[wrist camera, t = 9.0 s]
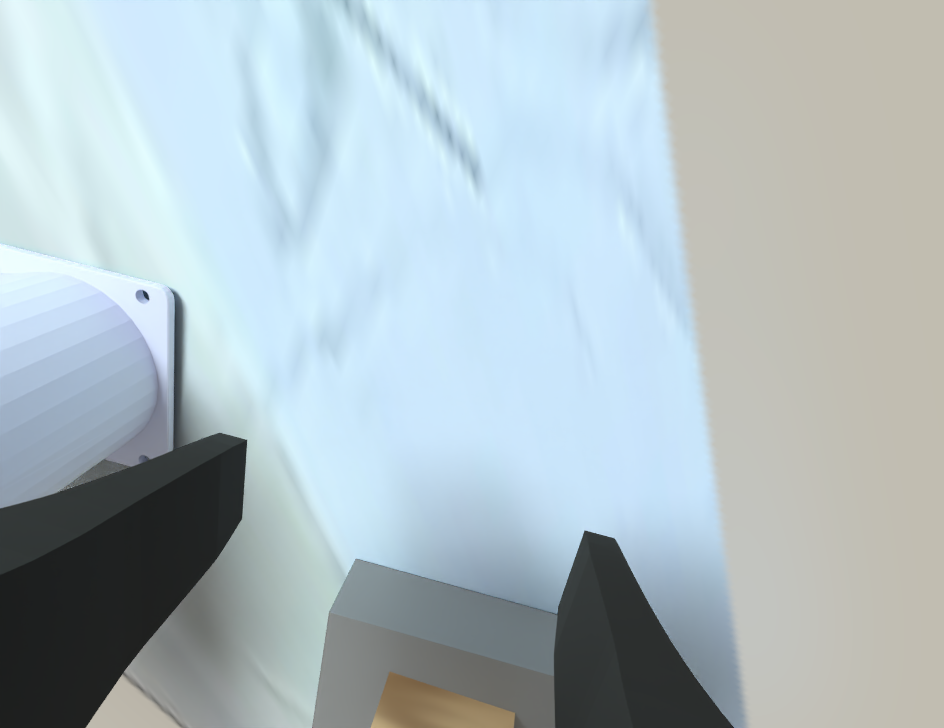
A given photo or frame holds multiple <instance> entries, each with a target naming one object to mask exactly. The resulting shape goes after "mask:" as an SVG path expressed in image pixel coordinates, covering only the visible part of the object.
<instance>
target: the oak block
mask: <svg viewBox="0 0 944 728" xmlns="http://www.w3.org/2000/svg"><path fill="white" fill-rule="evenodd" d="M514 719H515V713H514V712H511V711H508V710H505V709H501V708H498V707H495V706H492V705H489V704H486V703H483V702H480V701H477V700H474V699H471V698H468V697H465V696H462V695H459V694H456V693H453V692H450V691H447V690H444V689H441V688H438V687H435V686H432V685H429V684H426V683H423V682H420V681H417V680H414V679H411V678H408V677H405V676H402V675H399V674H396V673H393V672H389V675H388V678H387V681H386V684H385V687H384V690H383V693H382V696H381V699H380V702H379V704H378V707H377V710H376V713H375V716H374V719H373V722H372V725H371V728H514Z"/></svg>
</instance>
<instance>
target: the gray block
mask: <svg viewBox="0 0 944 728" xmlns="http://www.w3.org/2000/svg"><path fill="white" fill-rule="evenodd" d="M557 616H558V615H556V614H553V613H549V612H545V611H542V610H538V609H535V608H531V607H527V606H524V605H520V604H517V603H513V602H509V601H506V600H502V599H499V598H495V597H491V596H488V595H484V594H481V593H477V592H473V591H470V590H466V589H463V588H459V587H455V586H452V585H448V584H445V583H441V582H437V581H434V580H430V579H427V578H423V577H419V576H416V575H412V574H409V573H405V572H401V571H398V570H394V569H391V568H387V567H383V566H380V565H376V564H373V563H369V562H366V561H362V560H358V559H355V561H354V563H353V565H352V567H351V569H350V571H349V573H348V575H347V577H346V579H345V581H344V583H343V585H342V587H341V589H340V591H339V593H338V595H337V597H336V599H335V601H334V603H333V605H332V607H331V609H330V611H329V616H328V623H327V630H326V637H325V644H324V650H323V657H322V664H321V671H320V678H319V685H318V691H317V698H316V705H315V712H314V719H313V725H312V728H371V725H372V722H373V719H374V716H375V713H376V710H377V707H378V704H379V702H380V699H381V696H382V693H383V690H384V687H385V684H386V681H387V678H388V675H389V672H393V673H396V674H399V675H402V676H405V677H408V678H411V679H414V680H417V681H420V682H423V683H426V684H429V685H432V686H435V687H438V688H441V689H444V690H447V691H450V692H453V693H456V694H459V695H462V696H465V697H468V698H471V699H474V700H477V701H480V702H483V703H486V704H489V705H492V706H495V707H498V708H501V709H505V710H508V711H511V712H514V713H515V719H514V728H555V700H554V646H555V635H556V625H557Z"/></svg>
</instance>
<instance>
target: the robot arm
mask: <svg viewBox="0 0 944 728" xmlns="http://www.w3.org/2000/svg"><path fill="white" fill-rule="evenodd" d="M143 290H144V291H146V292H147V293H148V295H149V300H147V299H146V298H145V297H144V295H143ZM174 316H175V300H174V295H173V293H172V292H171V290H170V289H169V288H168V287H167V286H164V285H162V284H159V283H155V282H151V281H147V280H143V279H139V278H135V277H131V276H127V275H123V274H119V273H115V272H111V271H107V270H103V269H99V268H95V267H91V266H87V265H83V264H79V263H75V262H71V261H67V260H64V259H60V258H56V257H52V256H48V255H44V254H40V253H36V252H32V251H28V250H24V249H20V248H16V247H12V246H8V245H4V244H0V728H86V726H87V725H88V723H89V722H90V720H91V719H92V717H93V716H94V714H95V713H96V711H97V710H98V708H99V707H100V705H101V704H102V703H103V701H104V700H105V698H106V697H107V695H108V694H109V693H110V691H111V690H112V688H113V687H114V685H115V684H116V682H117V681H118V679H119V678H120V677H121V675H122V674H123V672H124V671H125V669H126V668H127V667H128V666H129V664H130V663H131V662H132V660H133V659H134V658H135V657H136V655H137V654H138V653H139V651H140V650H141V649H142V648H143V646H144V645H145V644H146V643H147V642H148V640H149V639H150V638H151V637H152V636H153V634H154V633H155V632H156V631H157V630H158V629H159V627H160V626H161V625H162V624H163V623H164V621H165V620H166V619H167V618H168V617H169V615H170V614H171V613H172V612H173V611H174V610H175V608H176V607H177V606H178V605H179V604H180V602H181V601H182V600H183V599H184V598H185V597H186V595H187V594H188V593H189V592H190V591H191V589H192V588H193V587H194V586H195V585H196V583H197V582H198V581H199V580H200V579H201V577H202V576H203V575H204V574H205V572H206V571H207V570H208V569H209V568H210V566H211V565H212V564H213V563H214V561H215V560H216V559H217V557H218V556H219V554H220V553H221V551H222V550H223V548H224V547H225V545H226V544H227V542H228V541H229V539H230V537H231V536H232V534H233V533H234V531H235V529H236V528H237V526H238V524H239V523H240V521H241V520H242V511H243V495H244V480H245V465H246V449H247V440H245V439H241V438H237V437H234V436H230V435H226V434H222V433H218V434H215V435H212V436H209V437H206V438H203V439H201V440H198V441H195V442H193V443H190V444H188V445H185V446H183V447H180V448H178V449H175V450H173V425H174ZM145 456H147V457H148V458H149V459H150V460H147V458H146V457H145ZM103 459H105V460H108V461H112V462H116V463H119V464H123V465H126V466H130V468H127V469H125V470H122V471H119V472H116V473H113V474H110V475H108V476H105V477H102V478H99V479H96V480H93V481H91V482H88V483H85V484H82V485H79V486H76V487H73V488H70V489H67V490H64V491H61V492H59V491H60V490H61V489H63V488H64V487H66V486H67V485H68V484H70V483H71V482H73V481H74V480H75V479H77V478H78V477H80V476H81V475H82V474H84V473H85V472H87V471H88V470H89V469H91V468H92V467H94V466H95V465H96V464H98V463H99V462H101V461H102V460H103ZM57 492H58V493H57ZM554 700H555V728H734V727H733V726H732V725H731V724H730V722H729V721H728V720H727V719H726V717H725V716H724V715H723V714H722V712H721V711H720V710H719V709H718V707H717V706H716V705H715V703H714V702H713V701H712V699H711V698H710V697H709V695H708V694H707V693H706V691H705V690H704V689H703V687H702V686H701V685H700V684H699V682H698V681H697V679H696V678H695V677H694V675H693V674H692V672H691V671H690V670H689V668H688V667H687V665H686V664H685V662H684V661H683V659H682V658H681V656H680V655H679V653H678V651H677V650H676V648H675V647H674V645H673V644H672V642H671V641H670V639H669V637H668V636H667V634H666V632H665V631H664V629H663V627H662V626H661V624H660V622H659V621H658V619H657V617H656V615H655V614H654V612H653V610H652V608H651V607H650V605H649V603H648V601H647V599H646V598H645V596H644V594H643V592H642V590H641V588H640V586H639V585H638V583H637V581H636V579H635V577H634V575H633V573H632V571H631V569H630V567H629V565H628V563H627V561H626V559H625V557H624V555H623V553H622V551H621V549H620V547H619V545H618V544H617V542H616V540H615V538H611V537H607V536H603V535H600V534H596V533H592V532H588V531H584V534H583V537H582V540H581V543H580V546H579V549H578V551H577V554H576V557H575V560H574V563H573V566H572V569H571V572H570V575H569V577H568V580H567V583H566V586H565V589H564V592H563V595H562V598H561V601H560V604H559V606H558V616H557V625H556V635H555V646H554Z"/></svg>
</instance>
